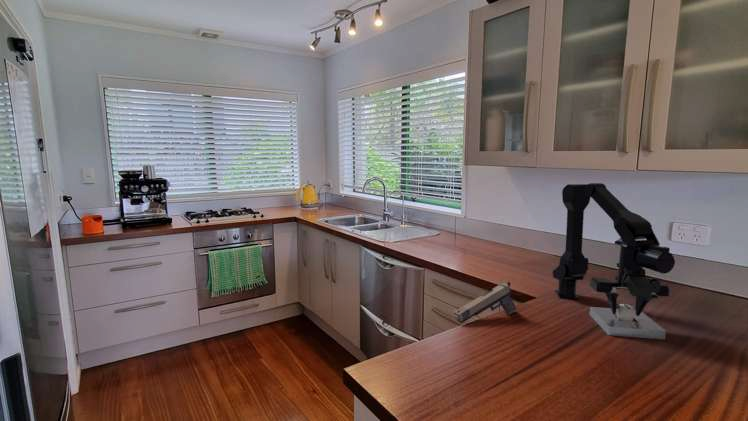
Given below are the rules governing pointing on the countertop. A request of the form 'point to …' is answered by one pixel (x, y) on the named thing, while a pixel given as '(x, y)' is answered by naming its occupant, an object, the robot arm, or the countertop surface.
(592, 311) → the plate
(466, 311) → the toy gun
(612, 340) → the countertop surface
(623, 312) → the knob
